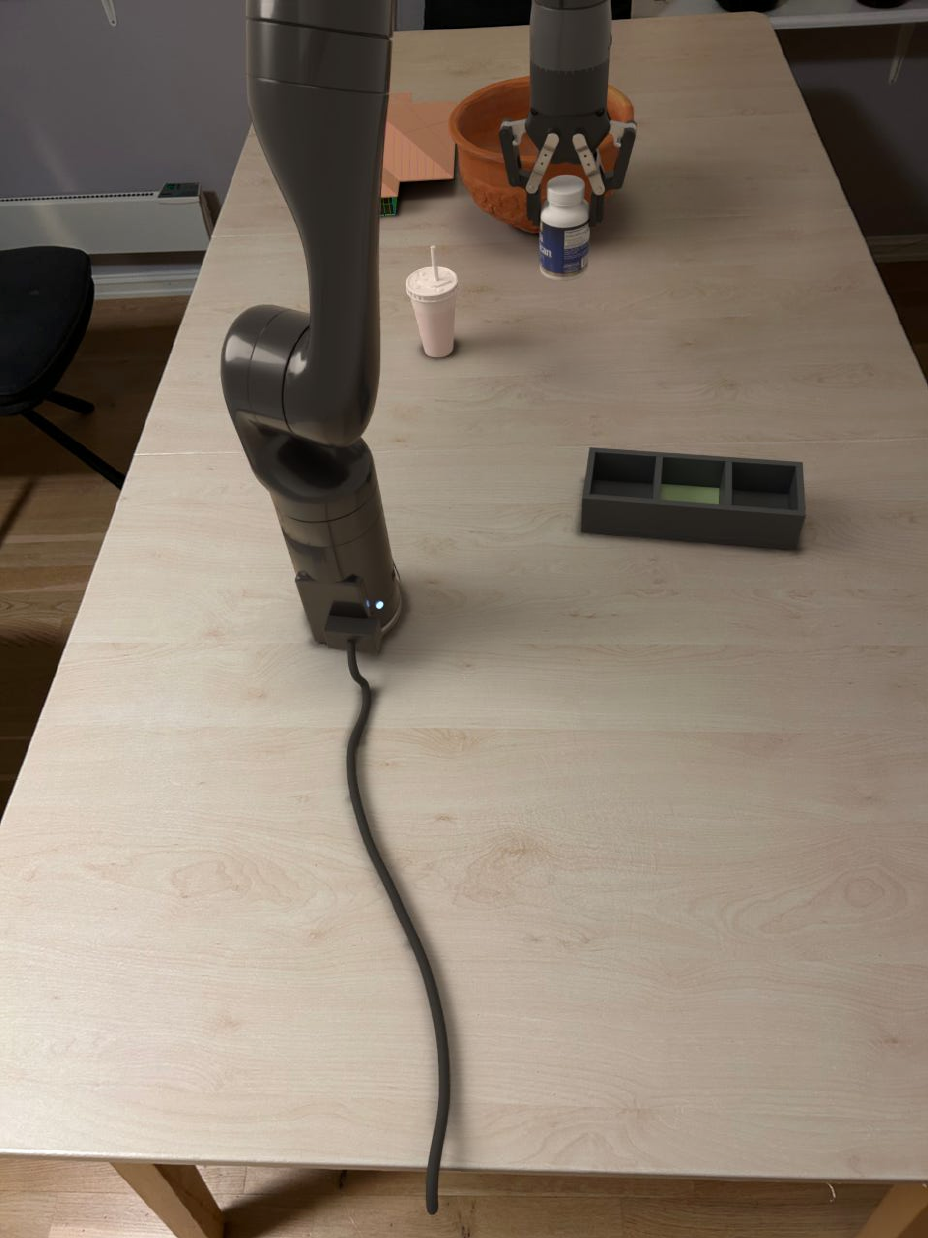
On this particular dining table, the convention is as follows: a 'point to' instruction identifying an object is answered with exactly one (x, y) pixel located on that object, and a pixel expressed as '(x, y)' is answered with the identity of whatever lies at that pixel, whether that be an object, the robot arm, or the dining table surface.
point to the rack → (694, 498)
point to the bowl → (482, 152)
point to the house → (416, 143)
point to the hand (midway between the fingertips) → (565, 222)
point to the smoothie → (434, 306)
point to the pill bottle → (564, 229)
